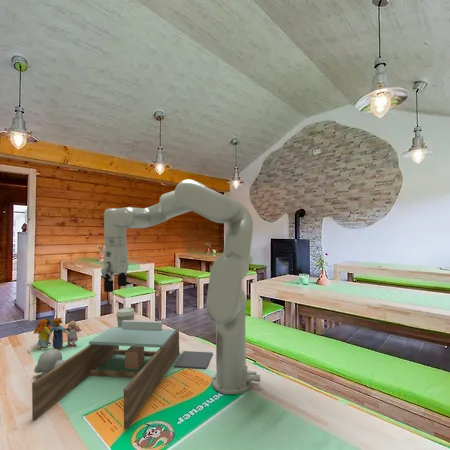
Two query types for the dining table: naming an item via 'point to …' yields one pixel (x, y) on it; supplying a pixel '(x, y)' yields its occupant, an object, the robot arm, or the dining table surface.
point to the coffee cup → (124, 315)
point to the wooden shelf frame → (91, 360)
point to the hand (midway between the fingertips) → (115, 288)
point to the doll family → (56, 333)
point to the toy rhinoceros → (48, 361)
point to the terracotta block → (134, 357)
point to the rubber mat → (194, 360)
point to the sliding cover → (135, 334)
